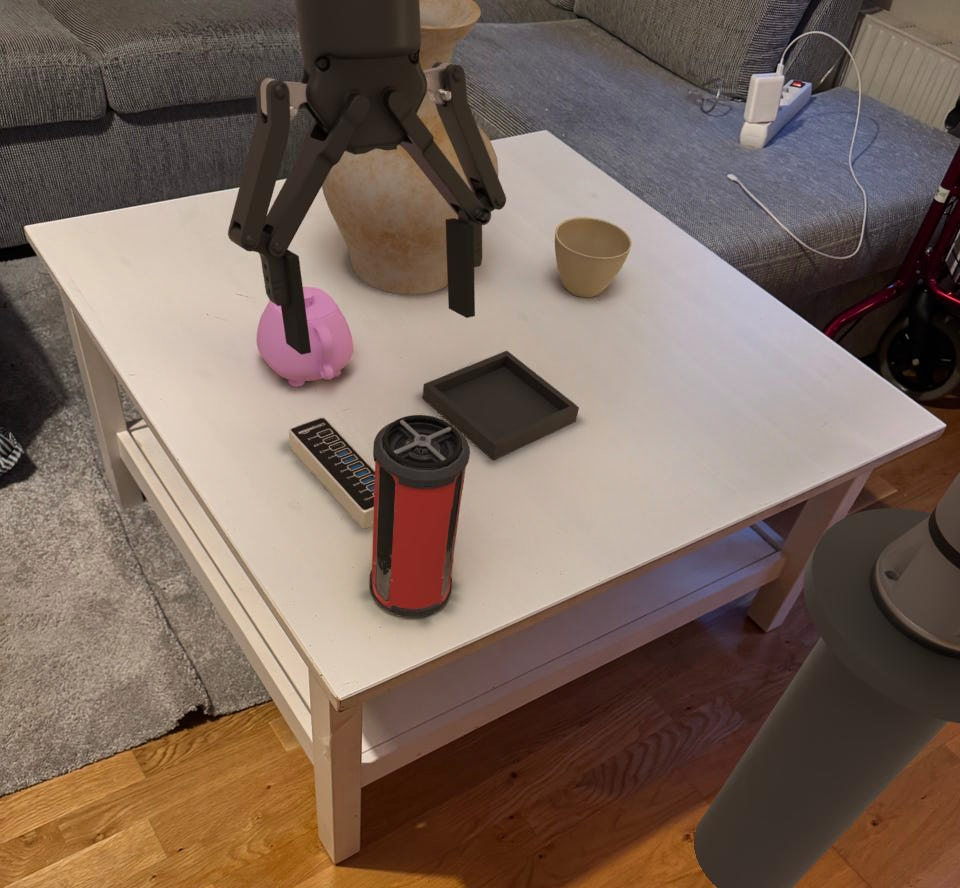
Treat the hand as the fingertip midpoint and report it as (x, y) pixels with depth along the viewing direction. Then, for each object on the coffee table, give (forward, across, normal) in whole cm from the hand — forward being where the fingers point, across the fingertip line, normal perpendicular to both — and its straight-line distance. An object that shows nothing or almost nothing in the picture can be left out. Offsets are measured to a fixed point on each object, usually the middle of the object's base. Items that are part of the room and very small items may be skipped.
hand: (383, 330), depth 68 cm
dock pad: (+20, -24, -21) cm, 38 cm away
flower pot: (+15, -49, -38) cm, 64 cm away
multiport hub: (+21, -3, -18) cm, 28 cm away
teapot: (+16, -8, -38) cm, 41 cm away
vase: (+12, -29, -51) cm, 60 cm away
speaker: (+26, -2, -3) cm, 26 cm away
